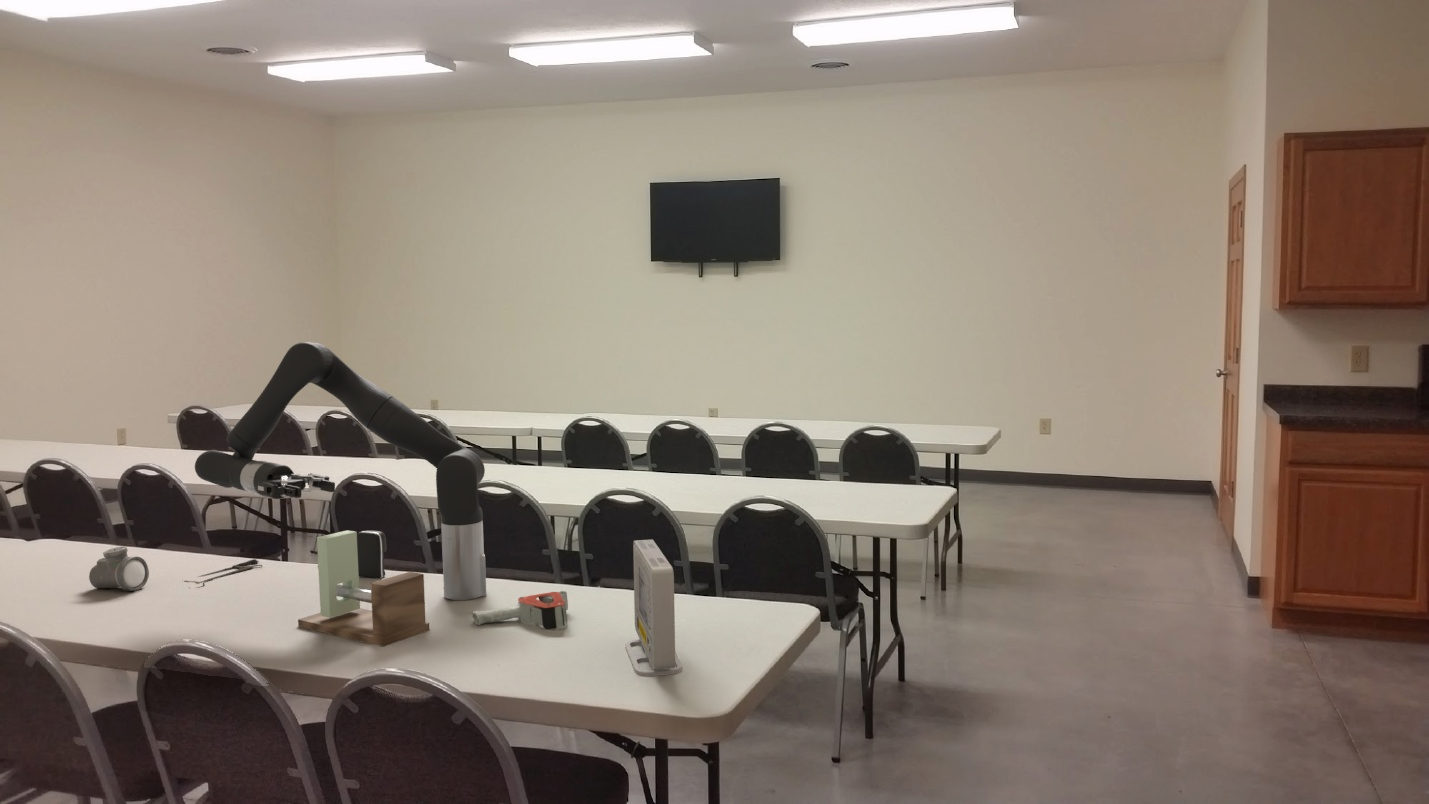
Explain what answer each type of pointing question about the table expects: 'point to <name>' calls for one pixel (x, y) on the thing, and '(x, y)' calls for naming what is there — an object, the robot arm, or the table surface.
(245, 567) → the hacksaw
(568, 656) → the table surface
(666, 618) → the network device
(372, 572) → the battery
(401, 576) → the base board
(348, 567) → the pale green tall slab
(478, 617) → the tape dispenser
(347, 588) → the pipe
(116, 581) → the pipe fitting
